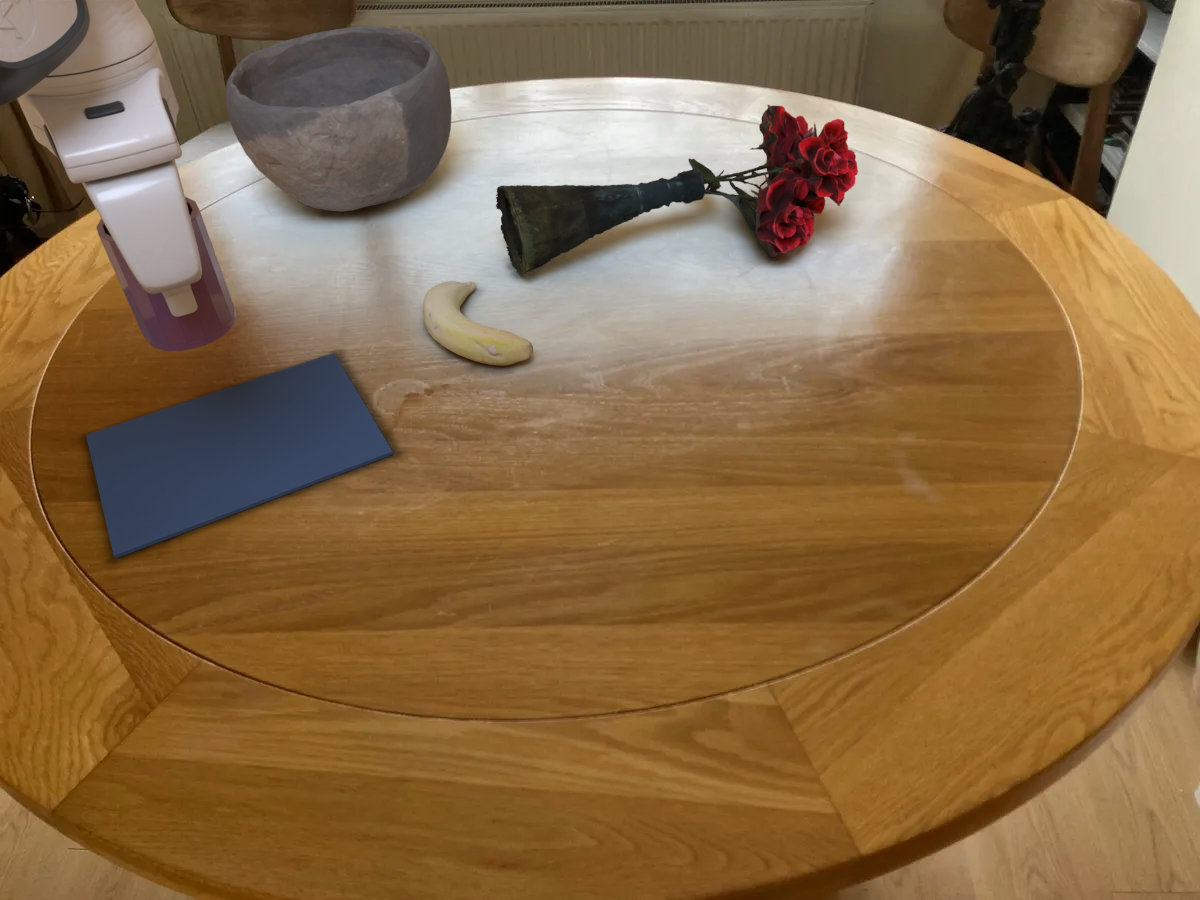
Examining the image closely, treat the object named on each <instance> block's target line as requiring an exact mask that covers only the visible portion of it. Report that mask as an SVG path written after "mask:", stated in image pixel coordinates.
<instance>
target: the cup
mask: <svg viewBox="0 0 1200 900" xmlns="http://www.w3.org/2000/svg"><path fill="white" fill-rule="evenodd" d="M185 199H186V203H187V207H188V211H189V215H190V219H191V223H192V227H193V231H194V235H195V239H196V243H197V247H198V251H199V256H200V261H201V268H202V276H201V279H200V280H199V281H197V282H195V283H192V284H190V285H191V290H192V292H193V295H194V298H195V300H196V303H197V305H198V307H197V310H196V311H195V312H193V313H190V314H187V315H183V316H180V317H176V316H173V315H172V314H171V312H170V309H169V307H168V305H167V302H166V300H165V298H164V296H163V294H162V293H157V294H150V293H148V292H146V291H145V290H144V289H143V287H142V286H141V285H140V283H139V282H138V281H137V279H136V277H135V276H134V274H133V273H132V271H131V270H130V268H129V266H128V265H127V263H126V261H125V259H124V258H123V256H122V254H121V252H120V251H119V249H118V247H117V245H116V243H115V242H114V240H113V238H112V236H111V235H110V233H109V231H108V229H107V228H106V226H105V224H104V222H103V220H102V219H101V218H100V219H99V221H98V223H97V225H96V228H95V229H96V231H97V235H98V238H99V240H100V242H101V244H102V246H103V248H104V251H105V253H106V256H107V257H108V259H109V262H110V264H111V266H112V269H113V271H114V273H115V275H116V278H117V280H118V283H119V284H120V287H121V290H122V292H123V294H124V296H125V298H126V300H127V303H128V304H129V307H130V310H131V311H132V314H133V317H134V318H135V321H136V323H137V325H138V327H139V329H140V331H141V334H142V336H143V338H144V339H145V342H146V343H147V344H148V345H149V346H151V347H152V348H154V349H156V350H160V351H163V352H185V351H190V350H191V351H192V350H195V349H198V348H199V349H200V348H202V347H205V346H207V345H210V344H211V343H214V342H215V341H217V340H219V339H221V338H222V337H224V336H225V335H226V334H227V333H228V332H229V331H231V329H232V328H233V327H234V326H235V324H236V320H237V312H236V308H235V304H234V302H233V299H232V297H231V294H230V291H229V288H228V286H227V282H226V280H225V277H224V274H223V272H222V268H221V266H220V264H219V259H218V257H217V255H216V252H215V248H214V246H213V244H212V240H211V238H210V235H209V233H208V229H207V226H206V224H205V222H204V219H203V216H202V213H201V210H200V208H199V206H198V204H197V201H195V200H194V199H191V198H189V197H187V196H185Z"/></svg>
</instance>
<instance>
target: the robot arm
mask: <svg viewBox="0 0 1200 900" xmlns="http://www.w3.org/2000/svg"><path fill="white" fill-rule="evenodd" d="M139 7H140V6H138V3H137V1H136V0H0V107H1V106H5V105H7V104H10V103H12V102H13V101H15V100H17V101H18V104H19V106H20V109H21V110H22V113H23V115H24V117H25V119H26V122H27V124H28V126H29V128H30V130H31V133H32V134H33V137H34V139H35V140H36V142H37V143H39V144H40V145H41V146H43V147H45V148H46V149H48V151H49V152H50V153H51V154H53V156H55V157H56V158H57V160H58V161H59V163H60V164H61V166H62V169H63V171H64V173H65V174H66V175H67V177H68V180H69V181H70V182H71V183H73V184H82V186H83V188H84V191H85V192H86V194H87V195H88V198H89V199H90V201H91V203H92V205H93V206H94V208H95V210H96V211H97V213H98V215H99V217H100V220H101V219H102V220H103V222H104V224H105V226H106V228H107V229H108V231H109V233H110V235H111V236H112V238H113V240H114V242H115V243H116V245H117V247H118V249H119V251H120V252H121V254H122V256H123V258H124V259H125V261H126V263H127V265H128V266H129V268H130V270H131V271H132V273H133V274H134V276H135V277H136V279H137V281H138V282H139V283H140V285H141V286H142V287H143V289H144V290H145V291H146V292H148V293H150V294H157V293H162V294H163V296H164V298H165V300H166V302H167V305H168V307H169V309H170V312H171V314H172V315H173V316H176V317H180V316H183V315H187V314H190V313H193V312H195V311H196V310H197V307H198V305H197V303H196V300H195V298H194V295H193V292H192V290H191V285H190V284H192V283H195V282H197V281H199V280H200V279H201V276H202V268H201V261H200V256H199V251H198V247H197V243H196V239H195V235H194V231H193V227H192V223H191V219H190V215H189V211H188V207H187V203H186V199H185V197H186V195H185V191H184V188H183V185H182V181H181V177H180V173H179V169H178V166H177V163H176V160H177V159H180V158H181V157H182V156H183V151H182V149H181V142H180V139H179V136H178V134H177V121H178V120H177V118H178V117H177V116H178V114H179V111H180V106H179V103H178V100H177V97H176V93H175V91H174V88H173V85H172V82H171V79H170V76H169V73H168V71H167V68H166V65H165V62H164V60H163V56H162V54H161V51H160V47H159V44H158V42H157V39H156V35H155V33H154V30H153V28H152V26H151V24H150V23H149V21H148V20H147V18H146V17H145V16H144V14H143V12H142V11H141V9H140V8H139Z"/></svg>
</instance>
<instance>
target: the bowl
mask: <svg viewBox="0 0 1200 900" xmlns="http://www.w3.org/2000/svg"><path fill="white" fill-rule="evenodd" d="M224 93H225V104H226V112H227V116H228V117H227V118H228V120H229V122H230V125H231V128H232V130H233V133H234V135H235V137H236V139H237V142H238V143H239V144H240V146H241V148H242V150H243V151H244V153H245V155H246V156H247V157H248V159H249V160H250V162H251V163H253V165H254V167H255V168H256V169H257V170H258V171H259V172H260V173H261V174H263V175H264V177H266V179H268V180H269V181H271V182H272V183H273V184H274V186H276V187H277V188H278V189H280V190H281V191H283V192H285V193H286V194H288V195H289V196H291V197H292V198H295V200H296V201H298V202H300V203H302V204H303V205H305V206H308V207H311V208H313V209H317V210H324V211H331V212H332V211H333V212H350V211H355V210H360V209H364V208H367V207H371V206H377V205H381V204H385V203H388V202H389V203H390V202H393V201H396V200H398V199H400V198H402V197H404V196H406V195H408V194H410V193H412V192H413V191H415V190H416V189H417V188H419V187H420V186H421V185H422V184H423V183H425V181H427V179H429V177H430V176H431V175H432V174H433V173H434V172H435V171H436V169H437V168H438V167H439V165H440V163H441V162H442V159H443V156H444V155H445V152H446V150H447V146H448V144H449V139H450V137H451V130H452V129H451V128H452V113H453V112H452V109H453V108H452V97H451V85H450V79H449V76H448V72H447V68H446V66H445V64H444V61H443V60H442V58H441V56H440V53H439V52H438V51H437V49H436V48H435V47H434V46H433V45H432V43H431V42H430V41H429V40H428V39H426V38H425V36H422V35H421V34H418V33H415V32H413V31H410V30H407V29H403V28H402V29H401V28H395V27H394V28H393V27H385V26H383V27H382V26H354V27H345V28H344V27H343V28H336V29H330V30H324V31H319V32H314V33H309V34H305V35H302V36H297V37H294V38H290V39H287V40H283V41H281V42H278V43H275V44H272V45H270V46H268V47H266V48H263V49H260V50H257V51H254V52H251V53H249V54H248V55H246V56H245V57H244V58H242V59H241V60H240V61H239V62H238V64H237V65H236V66H235V67H234V68H233V70H232V72H231V73H230V75H229V77H228V79H227V81H226V87H225V92H224Z"/></svg>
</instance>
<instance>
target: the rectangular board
mask: <svg viewBox="0 0 1200 900" xmlns="http://www.w3.org/2000/svg"><path fill="white" fill-rule="evenodd" d="M383 434H384V433H382V431H381V429H380V427H379V426H378V424H377V422H376V420H375V419H374V418H373V416H372V414H371V412H370V410H369V408H368V407H367V404H366V403H365V402H364V401H363V399H362V397H361V395H360V393H359V392H358V390H357V389H356V387H355V385H354V383H353V382H352V380H351V379H350V376H349V375H348V374H347V371H346V370H345V368H344V366H343V365H342V363H341V362H340V360H339V358H338V357H337V355H336V353H335V352H332V353H329V354H326V355H323V356H320V357H317V358H314V359H311V360H309V361H305V362H302V363H299V364H296V365H293V366H289V367H286V368H284V369H281V370H278V371H275V372H272V373H268V374H266V375H263V376H260V377H259V376H258V377H257V378H253V379H251V380H248V381H244V382H241V383H239V384H235V385H233V386H229V387H225V388H223V389H220V390H217V391H213V392H211V393H208V394H206V395H202V396H200V397H196V398H193V399H190V400H187V401H185V402H182V403H178V404H175V405H172V406H169V407H165V408H163V409H160V410H157V411H153V412H150V413H148V414H144V415H142V416H139V417H136V418H133V419H130V420H126V421H124V422H120V423H118V424H114V425H111V426H107V427H106V428H102V429H99V430H96V431H93V432H90V433H87V434H85V437H86V441H87V446H88V449H89V454H90V458H91V463H92V467H93V472H94V476H95V480H96V485H97V489H98V490H97V491H98V494H99V497H100V502H101V507H102V511H103V515H104V520H105V524H106V529H107V532H108V537H109V541H110V546H111V550H112V555H113V557H114V559H118V558H121V557H124V556H127V555H130V554H132V553H135V552H138V551H140V550H143V549H146V548H148V547H150V546H153V545H156V544H159V543H162V542H164V541H167V540H169V539H173V538H175V537H178V536H180V535H184V534H185V533H188V532H191V531H194V530H197V529H199V528H201V527H204V526H206V525H210V524H213V523H215V522H217V521H220V520H222V519H225V518H228V517H231V516H233V515H236V514H238V513H242V512H244V511H247V510H249V509H250V510H251V509H252V508H255V507H257V506H260V505H263V504H266V503H268V502H272V501H273V500H276V499H278V498H279V499H280V498H282V497H284V496H287V495H290V494H292V493H294V492H297V491H300V490H303V489H305V488H308V487H311V486H313V485H316V484H318V483H319V484H320V483H321V482H324V481H327V480H329V479H331V478H334V477H337V476H340V475H343V474H346V473H348V472H352V471H353V470H354V471H355V470H356V469H358V468H359V469H360V468H362V467H364V466H367V465H369V464H372V463H375V462H378V461H380V460H382V459H386V458H388V457H390V456H394V450H393V449H392V448H391V446H390V444H389V442H388V441H387V439H386V437H385V436H384V435H383Z"/></svg>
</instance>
